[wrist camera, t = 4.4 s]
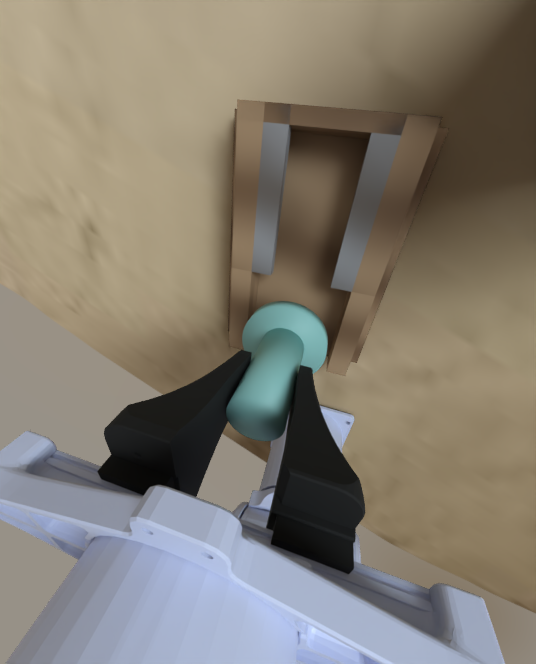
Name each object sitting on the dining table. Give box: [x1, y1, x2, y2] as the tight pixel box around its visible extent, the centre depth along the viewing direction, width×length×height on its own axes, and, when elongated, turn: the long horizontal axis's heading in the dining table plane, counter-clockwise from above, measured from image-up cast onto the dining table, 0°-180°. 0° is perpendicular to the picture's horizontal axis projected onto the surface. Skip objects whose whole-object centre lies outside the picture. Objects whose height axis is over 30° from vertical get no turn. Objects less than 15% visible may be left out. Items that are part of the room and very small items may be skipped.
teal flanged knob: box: [226, 301, 328, 441], centre depth 14 cm, size 6×6×7 cm
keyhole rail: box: [228, 100, 449, 376], centre depth 18 cm, size 16×12×3 cm
